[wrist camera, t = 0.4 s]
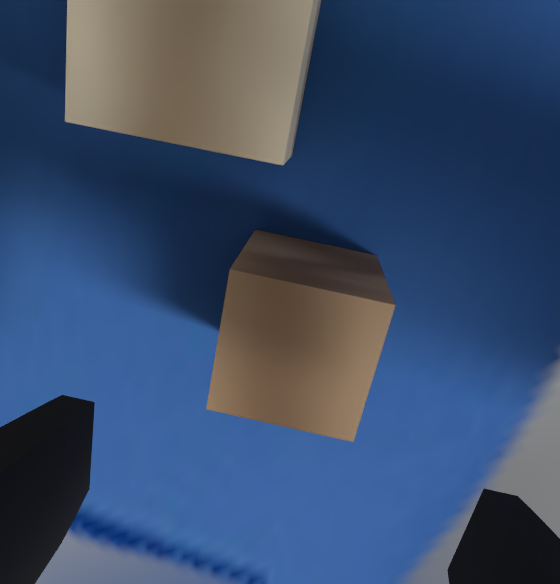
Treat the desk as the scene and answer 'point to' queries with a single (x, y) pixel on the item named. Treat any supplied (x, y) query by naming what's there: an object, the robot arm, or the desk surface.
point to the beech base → (192, 71)
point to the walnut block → (300, 335)
